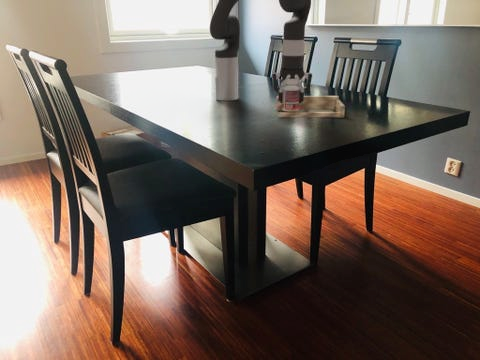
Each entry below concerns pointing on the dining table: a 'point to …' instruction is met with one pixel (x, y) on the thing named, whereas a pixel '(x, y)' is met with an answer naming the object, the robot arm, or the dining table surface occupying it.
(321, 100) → the tray
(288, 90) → the pill bottle
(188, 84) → the dining table surface
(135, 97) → the dining table surface
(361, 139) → the dining table surface
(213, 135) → the dining table surface
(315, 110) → the front slot
